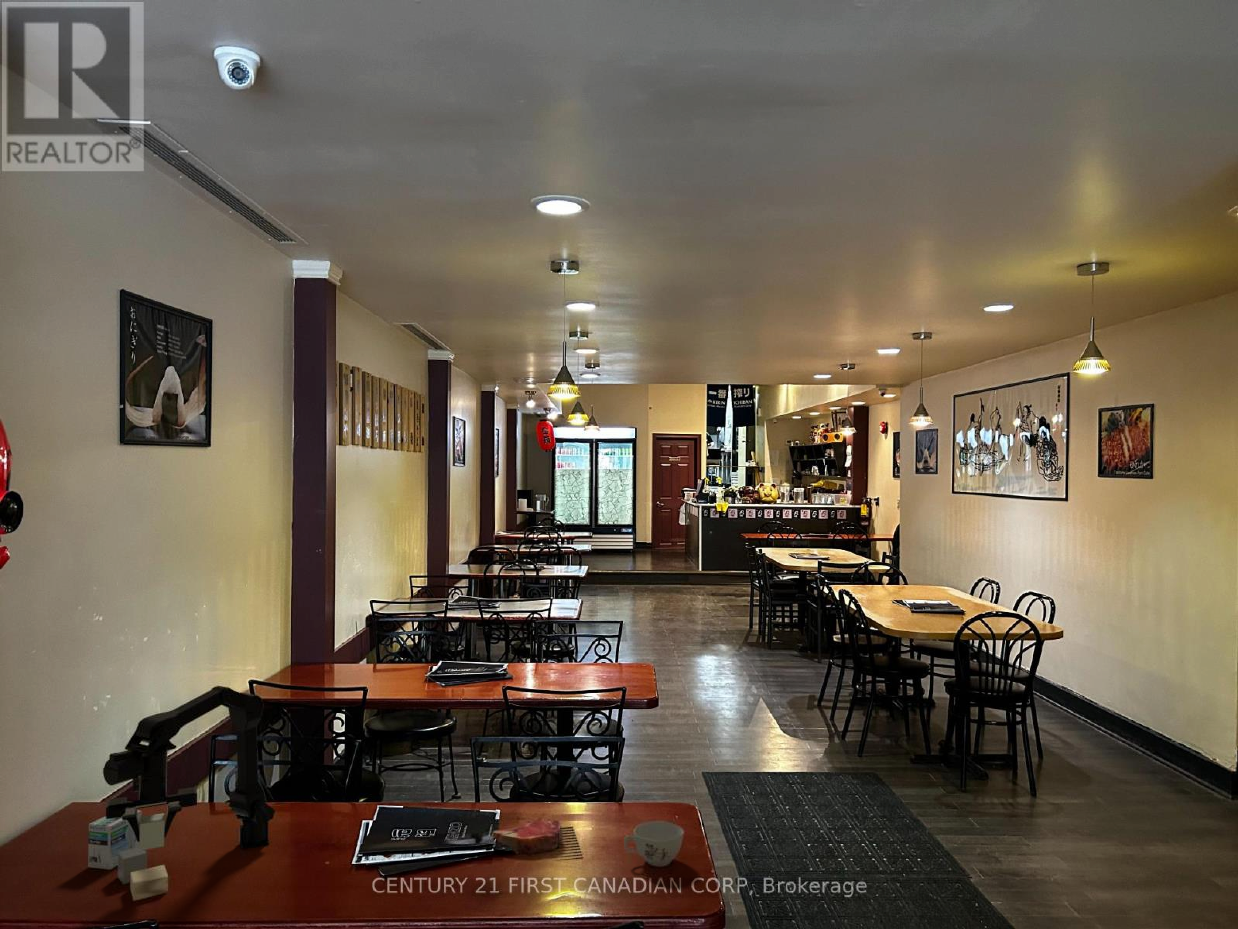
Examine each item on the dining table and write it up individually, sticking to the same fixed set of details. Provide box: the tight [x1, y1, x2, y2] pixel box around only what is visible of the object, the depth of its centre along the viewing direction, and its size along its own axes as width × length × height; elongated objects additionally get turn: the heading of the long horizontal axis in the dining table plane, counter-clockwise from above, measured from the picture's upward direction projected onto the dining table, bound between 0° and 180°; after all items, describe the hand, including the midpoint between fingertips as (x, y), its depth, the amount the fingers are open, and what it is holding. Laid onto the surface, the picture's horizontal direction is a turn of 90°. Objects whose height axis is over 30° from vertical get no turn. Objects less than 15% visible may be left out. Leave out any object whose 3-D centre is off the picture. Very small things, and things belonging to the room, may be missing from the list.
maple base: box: [129, 864, 169, 902], centre depth 199 cm, size 7×7×4 cm
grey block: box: [117, 847, 148, 885], centre depth 205 cm, size 5×5×6 cm
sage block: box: [139, 812, 165, 851], centre depth 200 cm, size 5×5×6 cm
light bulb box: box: [88, 809, 143, 871], centre depth 215 cm, size 11×7×11 cm, turn 168°
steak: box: [492, 817, 584, 862], centre depth 223 cm, size 25×21×6 cm
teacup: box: [623, 820, 685, 868], centre depth 214 cm, size 15×12×8 cm
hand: (151, 839), depth 200 cm, fingers closed on sage block, 5 cm apart
